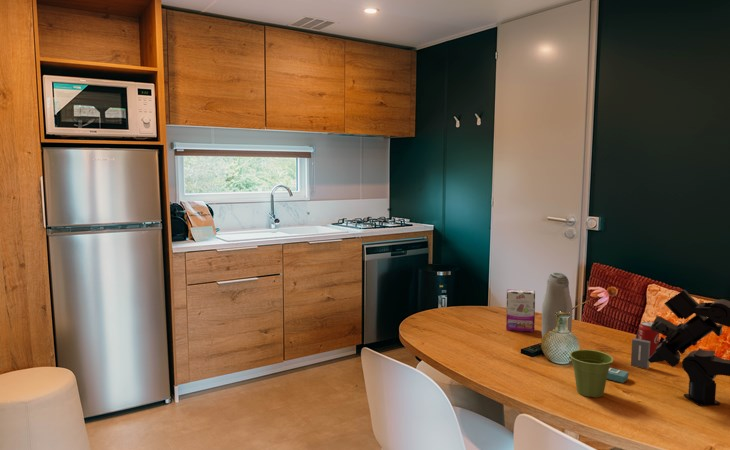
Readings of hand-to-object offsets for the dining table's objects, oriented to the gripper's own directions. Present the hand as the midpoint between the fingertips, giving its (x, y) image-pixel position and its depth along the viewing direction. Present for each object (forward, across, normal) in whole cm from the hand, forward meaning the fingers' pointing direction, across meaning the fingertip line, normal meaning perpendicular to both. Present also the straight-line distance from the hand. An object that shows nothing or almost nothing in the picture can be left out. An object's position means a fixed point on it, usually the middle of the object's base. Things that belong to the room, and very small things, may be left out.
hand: (649, 361), depth 157 cm
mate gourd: (+13, -39, +3) cm, 41 cm away
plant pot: (+14, +16, -5) cm, 22 cm away
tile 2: (+9, 0, 0) cm, 9 cm away
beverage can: (+11, -27, +4) cm, 30 cm away
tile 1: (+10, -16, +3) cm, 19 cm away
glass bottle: (+30, -17, -18) cm, 39 cm away
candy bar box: (+43, -30, -31) cm, 61 cm away
